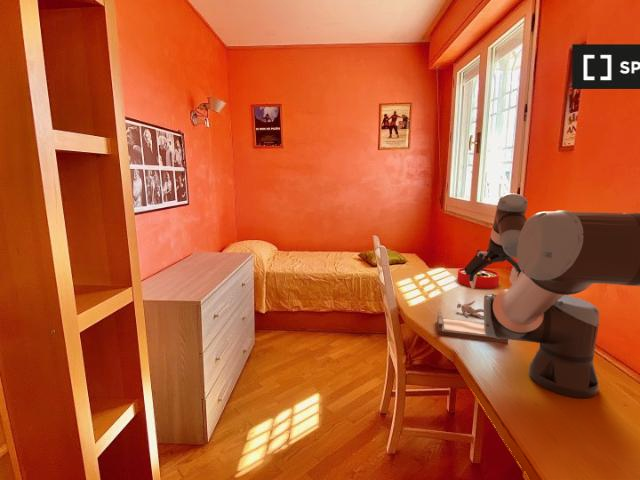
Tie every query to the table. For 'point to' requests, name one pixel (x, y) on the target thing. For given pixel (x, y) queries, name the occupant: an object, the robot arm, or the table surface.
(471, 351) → the table surface
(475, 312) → the soldier figure
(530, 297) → the robot arm
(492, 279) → the toy clock
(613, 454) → the table surface
